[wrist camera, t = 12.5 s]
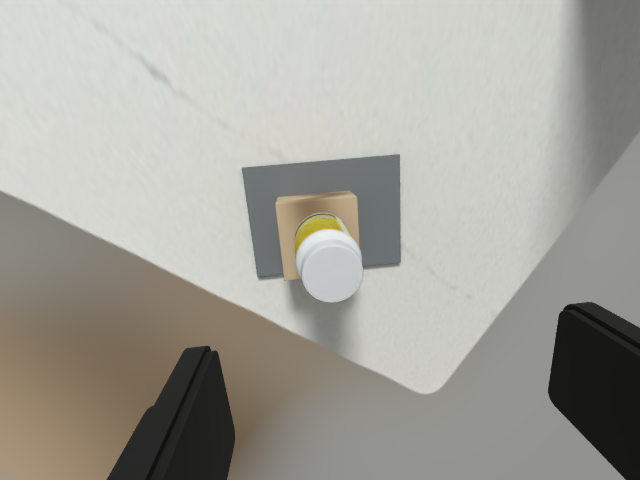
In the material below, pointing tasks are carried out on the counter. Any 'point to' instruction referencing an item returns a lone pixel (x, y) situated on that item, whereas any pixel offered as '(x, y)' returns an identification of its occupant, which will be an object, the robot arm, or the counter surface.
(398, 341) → the counter surface
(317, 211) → the oak block
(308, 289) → the supplement bottle
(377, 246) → the mat
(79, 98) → the counter surface
